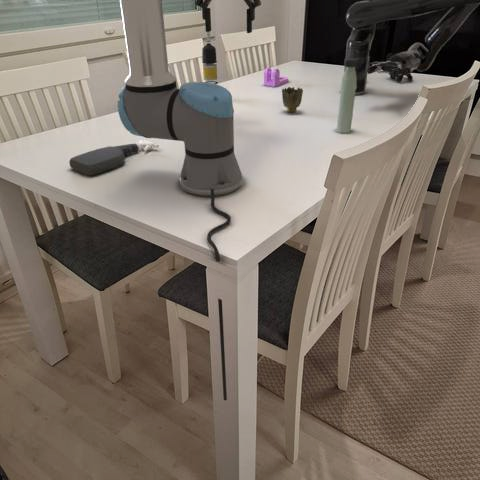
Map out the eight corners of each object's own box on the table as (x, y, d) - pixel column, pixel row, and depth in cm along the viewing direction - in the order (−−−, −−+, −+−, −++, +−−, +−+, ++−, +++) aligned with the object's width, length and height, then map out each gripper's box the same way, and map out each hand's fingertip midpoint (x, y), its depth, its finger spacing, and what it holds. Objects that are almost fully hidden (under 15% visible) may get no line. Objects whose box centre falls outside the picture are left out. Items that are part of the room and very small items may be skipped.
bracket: (274, 86, 193) (275, 69, 190) (264, 85, 196) (264, 68, 193) (290, 81, 202) (291, 64, 198) (279, 79, 205) (280, 63, 201)
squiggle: (400, 92, 202) (376, 71, 205) (417, 76, 202) (392, 56, 205) (405, 81, 191) (380, 59, 194) (423, 64, 191) (397, 42, 194)
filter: (220, 99, 177) (217, 15, 161) (206, 100, 176) (202, 16, 160) (215, 96, 182) (212, 14, 166) (202, 97, 180) (197, 14, 164)
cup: (277, 113, 160) (278, 90, 155) (285, 108, 165) (286, 85, 161) (297, 115, 157) (298, 92, 152) (304, 110, 162) (306, 87, 158)
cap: (342, 66, 131) (342, 59, 130) (345, 64, 134) (346, 57, 133) (355, 67, 130) (356, 60, 129) (359, 65, 133) (360, 58, 132)
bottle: (334, 132, 142) (341, 61, 130) (338, 128, 145) (346, 58, 134) (348, 134, 140) (356, 62, 129) (352, 129, 143) (360, 59, 132)
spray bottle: (67, 168, 120) (139, 144, 136) (91, 178, 114) (163, 151, 130) (65, 157, 118) (137, 134, 134) (89, 167, 112) (162, 142, 128)
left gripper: (272, -51, 127) (270, 31, 138) (192, -49, 134) (197, 29, 145) (264, -51, 121) (263, 34, 132) (181, -49, 128) (187, 32, 139)
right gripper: (383, 51, 160) (362, 58, 150) (423, 54, 152) (403, 61, 142) (381, 73, 164) (360, 81, 154) (419, 77, 156) (399, 86, 146)
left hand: (228, 32), depth 139 cm, fingers open, 13 cm apart
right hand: (380, 71), depth 148 cm, fingers open, 8 cm apart
